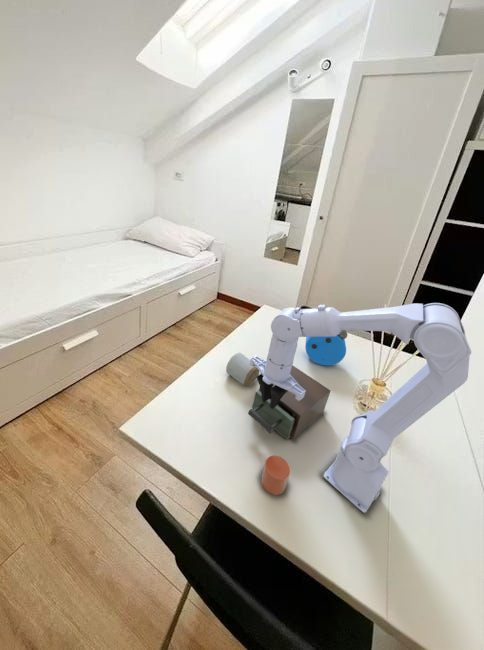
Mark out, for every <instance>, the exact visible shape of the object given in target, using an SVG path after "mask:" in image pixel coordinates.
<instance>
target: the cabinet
mask: <svg viewBox="0 0 484 650" xmlns="http://www.w3.org/2000/svg"><path fill="white" fill-rule="evenodd" d="M290 375H291V376H292V377H293V378H294V380H295V381H296V382H297V383H298V384H299V385H300V386H301V387H302V388H303V389H304V390H305V391H306V392H305V395H304V397H303V398H302V399H301V400H300V401H298V400H297V399H296V398H295V395H293V394H292V393H291V392H289V391H287V392H286V393H285V394H284V395H283V397H282V398H281V399H280V401H279V403H281V404H282V405H283V406H284V407H286V408H287V409H288V410H290V411H291V412H292V413H293V414H295V415H296V420H295V423H294V426H293V430H292V431H291V434H290V437H289V438H290V439H291V440H295V439H296V438H298V436H299V435H300V434H301V433H302V432H303V431H305V430H306V429H307V428H308V427H309V426H310V425H312V424H313V423H314V422H315V421H316V420H317V419H318V418H319V417H321V416H322V414H324V411H325V409H326V405H327V403H328V400H329V396H330V394H331V392H332V390H331V389H330V388H328V387H327V386H325V385H324V384H323V383H320V382H319V381H317V380H316V379H314V378H312V377H311V376H310V375H308V374H306V373H305V372H303V371H302V370H300V369H299V368H297V367H296V366H295V365H293V364H292V368H291V371H290ZM274 386H275V385H273V387H274ZM258 390H259V391H260V392H261V389H260V386H259V389H258ZM271 396H272V394H271Z"/></svg>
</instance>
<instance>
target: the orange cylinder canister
mask: <svg viewBox="0 0 484 650" xmlns="http://www.w3.org/2000/svg"><path fill="white" fill-rule="evenodd" d="M290 474H291V467H290V465H289V463H288V461H287V460H285V459H284V458H283V457H282V456H280V455H275V454H274V455H270V456H268V457H267V458H266V459H265V462H264V466H263V470H262V474H261V478H260V480H261V481H260V482H261V485H262V487H263V488H264V490H265V491H266V492H268V493H269V494H271V495H274V496H277V495H278V496H279V495H281V494H282V493H284V491H285V490H286V487H287V484H288V480H289V477H290Z"/></svg>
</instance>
